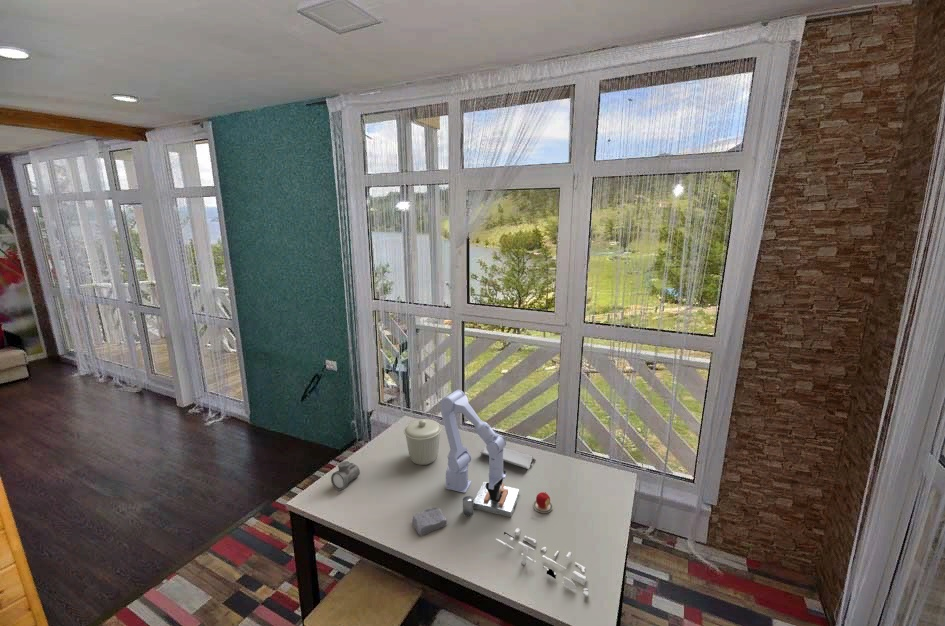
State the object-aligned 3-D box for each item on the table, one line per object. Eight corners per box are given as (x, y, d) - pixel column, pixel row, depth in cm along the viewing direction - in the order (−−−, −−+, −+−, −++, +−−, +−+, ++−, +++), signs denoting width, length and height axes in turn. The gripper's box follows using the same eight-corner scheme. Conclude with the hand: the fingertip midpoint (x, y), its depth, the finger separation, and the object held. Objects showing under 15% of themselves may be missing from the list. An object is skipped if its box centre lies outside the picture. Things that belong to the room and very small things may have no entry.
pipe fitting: (344, 492, 176) (342, 470, 175) (330, 488, 180) (329, 466, 179) (363, 479, 187) (362, 458, 186) (350, 475, 191) (349, 455, 189)
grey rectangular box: (491, 504, 169) (491, 488, 167) (493, 499, 173) (493, 482, 170) (498, 506, 168) (499, 489, 166) (501, 500, 171) (501, 484, 169)
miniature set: (492, 547, 147) (508, 530, 157) (585, 604, 128) (597, 581, 138) (494, 532, 146) (511, 516, 156) (589, 587, 127) (601, 564, 137)
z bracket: (486, 457, 209) (490, 445, 211) (532, 472, 196) (535, 459, 199) (478, 450, 199) (482, 438, 202) (525, 466, 187) (529, 453, 190)
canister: (397, 461, 198) (395, 422, 193) (422, 444, 213) (420, 407, 207) (425, 475, 188) (424, 434, 183) (449, 455, 203) (448, 417, 197)
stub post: (461, 514, 164) (461, 502, 162) (465, 507, 168) (464, 494, 166) (471, 517, 162) (471, 504, 161) (475, 509, 166) (475, 497, 165)
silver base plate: (473, 507, 168) (473, 502, 167) (483, 486, 180) (483, 481, 180) (510, 517, 162) (511, 511, 162) (519, 494, 175) (519, 489, 175)
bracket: (483, 501, 167) (483, 499, 167) (492, 483, 178) (492, 481, 178) (502, 506, 165) (502, 503, 165) (510, 487, 176) (510, 485, 176)
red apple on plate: (553, 501, 171) (554, 488, 169) (551, 515, 163) (552, 501, 162) (534, 498, 173) (534, 485, 171) (531, 511, 165) (532, 498, 164)
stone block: (410, 525, 162) (419, 538, 153) (409, 513, 161) (418, 525, 152) (438, 515, 167) (448, 527, 158) (437, 504, 167) (447, 515, 158)
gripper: (500, 477, 158) (500, 507, 161) (510, 456, 171) (509, 484, 175) (483, 473, 160) (483, 503, 164) (494, 453, 173) (493, 480, 177)
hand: (495, 493), depth 169 cm, fingers open, 7 cm apart
